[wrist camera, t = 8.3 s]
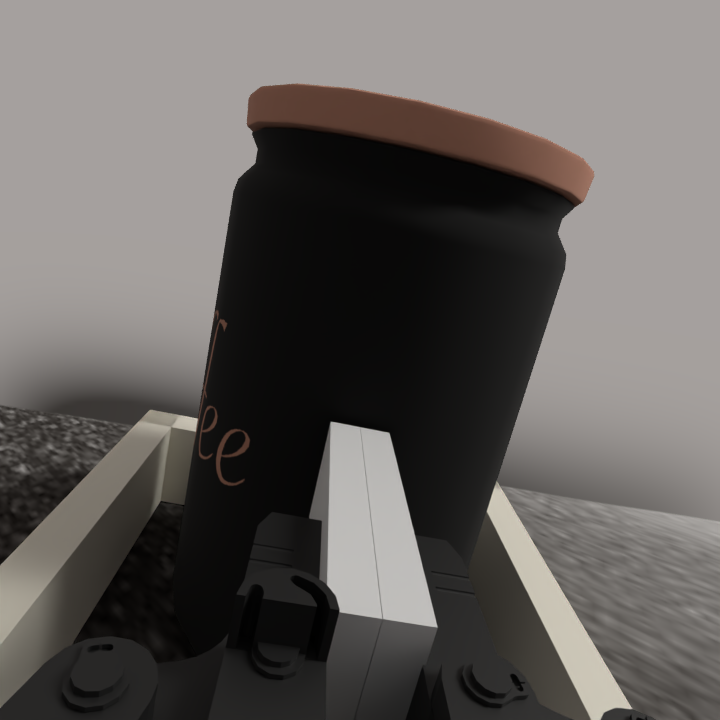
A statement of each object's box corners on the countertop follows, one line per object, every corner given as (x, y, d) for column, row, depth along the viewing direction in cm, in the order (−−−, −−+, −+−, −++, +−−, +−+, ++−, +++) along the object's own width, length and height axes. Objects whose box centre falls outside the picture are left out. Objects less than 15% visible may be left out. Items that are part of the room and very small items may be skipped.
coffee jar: (227, 509, 27) (294, 134, 22) (434, 564, 26) (547, 191, 22) (105, 685, 16) (186, 46, 12) (444, 781, 16) (665, 153, 11)
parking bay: (473, 539, 29) (497, 465, 28) (636, 932, 13) (707, 797, 12) (139, 480, 27) (150, 398, 26) (-136, 850, 11) (-141, 682, 10)
